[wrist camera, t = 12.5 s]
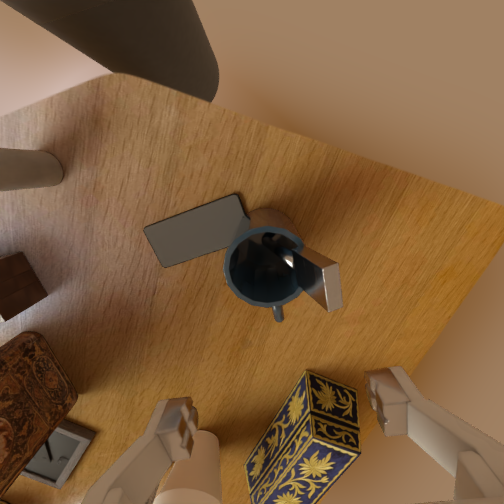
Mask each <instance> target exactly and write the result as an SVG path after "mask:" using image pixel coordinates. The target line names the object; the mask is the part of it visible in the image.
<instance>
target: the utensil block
mask: <svg viewBox="0 0 504 504" xmlns="http://www.w3.org/2000/svg"><path fill="white" fill-rule="evenodd" d="M47 296H48V295H47V293H46V291H45V290H44V288H43V286H42V285H41V283H40V281H39V279H38V278H37V276H36V274H35V273H34V271H33V269H32V267H31V266H30V264H29V262H28V261H27V259H26V257H25V255H24V254H23V252H17V253H13V254H8V255H4V256H0V323H2V322H6V321H7V320H9V319H11V318H12V317H14V316H16V315H17V314H19V313H21V312H22V311H24V310H26V309H27V308H29V307H31V306H32V305H34V304H35V303H37V302H39V301H40V300H42V299H44V298H45V297H47Z"/></svg>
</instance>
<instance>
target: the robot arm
mask: <svg viewBox="0 0 504 504" xmlns="http://www.w3.org/2000/svg"><path fill="white" fill-rule="evenodd" d="M364 377H365V379H366V381H367V383H366V385H365V387H366V393H367V397H368V400H369V402H370V405H371V407H372V409H373V410H374V411H376V412H377V420H378V422H379V424H380V426H381V428H382V430H383V432H384V434H385V436H396V435H408V436H409V437H410V438H411V439H412V440H413V441H414V442H415V443H416V444H418V445H419V446H420V447H421V448H422V449H423V450H425V452H427V453H428V454H429V455H430V456H431V457H432V458H433V459H434V460H436V461H437V462H438V463H439V464H440V465H441V466H442V467H443V468H445V469H446V470H447V471H448V472H449V473H450V474H451V475H452V476H454V477H455V478H456V481H455V490H454V500H452V501H440V502H428V503H418V504H504V445H503V444H501V443H500V442H498V441H496V440H495V439H493V438H492V437H490V436H488V435H487V434H485V433H483V432H482V431H480V430H479V429H477V428H475V427H474V426H472V425H470V424H469V423H467V422H465V421H464V420H462V419H461V418H459V417H457V416H455V415H454V414H452V413H451V412H449V411H447V410H446V409H444V408H442V407H441V406H439V405H438V404H436V403H434V402H433V401H431V400H430V399H428V400H425V399H424V397H423V396H422V394H421V393H420V391H419V390H418V389H417V387H416V386H415V384H414V383H413V382H412V380H411V379H410V378H409V376H408V375H407V373H406V372H405V371H404V369H403V368H402V367H401V366H395V367H388V368H381V369H374V370H368V371H365V372H364ZM192 404H193V400H192V398H191V397H182V398H173V399H165V400H160V401H159V402H158V403H157V405H156V407H155V409H154V412H153V414H152V416H151V419H150V421H149V423H148V425H147V428H146V430H145V432H144V435H143V436H140V437H139V438H138V439H137V440H136V441H135V442H134V443H133V444H132V445H131V446H130V447H129V448H128V449H127V450H126V451H125V452H124V453H123V454H122V456H121V457H120V458H119V459H118V460H117V461H116V462H115V463H114V464H113V465H112V466H111V467H110V468H109V469H108V470H107V471H106V472H105V473H104V474H103V475H102V476H101V477H100V478H99V479H98V480H97V481H96V482H95V483H94V485H93V486H92V487H91V488H90V489H89V490H88V492H87V494H86V495H85V497H84V499H83V501H82V503H81V504H145V502H146V501H147V499H148V498H149V497H150V495H151V494H152V492H153V491H154V489H155V488H156V486H157V485H158V483H159V482H160V480H161V479H162V477H163V476H164V474H165V473H166V471H167V470H168V468H169V467H170V465H171V464H172V461H179V460H185V459H190V457H191V453H192V449H193V445H194V440H193V438H192V437H193V435H194V434H195V433H196V432H197V428H198V412H197V409H196V408H195V407H193V406H192Z"/></svg>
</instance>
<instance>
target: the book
mask: <svg viewBox="0 0 504 504" xmlns="http://www.w3.org/2000/svg"><path fill="white" fill-rule="evenodd" d="M77 399H78V394H77V393H76V391H75V389H74V387H73V385H72V383H71V382H70V380H69V378H68V377H67V375H66V373H65V372H64V370H63V369H62V367H61V365H60V364H59V362H58V360H57V359H56V357H55V356H54V354H53V352H52V351H51V349H50V347H49V346H48V344H47V343H46V341H45V339H44V338H43V336H42V335H41V334H39V333H36V332H23V333H20V334H19V335H17V336H16V337H14V338H13V339H11V340H10V341H8V342H7V343H6V344H4V345H3V346H1V347H0V499H1V498H2V496H3V495H4V494H5V493H6V491H7V490H8V489H9V487H10V486H11V485H12V484H13V482H14V481H15V480H16V479H17V477H18V476H19V475H20V473H21V472H22V471H23V470H24V468H25V467H26V466H27V465H28V463H29V462H30V461H31V460H32V458H33V457H34V456H35V454H36V453H37V452H38V451H39V449H40V448H41V447H42V446H43V444H44V443H45V442H46V440H47V439H48V438H49V437H50V435H51V434H52V433H53V432H54V430H55V429H56V428H57V427H58V425H59V424H60V423H61V421H62V420H63V419H64V418H65V416H66V415H67V414H68V413H69V411H70V410H71V409H72V407H73V406H74V404H75V403H76V401H77Z"/></svg>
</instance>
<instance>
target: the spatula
mask: <svg viewBox="0 0 504 504" xmlns="http://www.w3.org/2000/svg"><path fill="white" fill-rule="evenodd" d="M262 244H263V245H264V246H265V247H266V248H267V249H269V250H270V251H271V252H273V253H274V254H275V255H276V256H278V257H279V258H280V259H282V260H283V261H284V262H285V263H287V264H288V265H289V266H291V267H292V268H293V269H294V270H295V273H296V278H297V284H298V286H299V287H301V288H302V289H303V290H304V291H305V292H306V293H307V294H308V295H310V296H311V297H312V298H313V299H314V300H315V301H316V302H317V303H318V304H320V305H321V306H322V307H323V308H324V309H325V310H326V311H327V312H331V311H334V310H337V309H339V308H342V307H343V300H342V291H341V282H340V273H339V264H338V263H337V262H335V261H333V260H331V259H329V258H327V257H325V256H324V255H322V254H320V253H318V252H316V251H314V250H312V249H310V248H308V247H306V246H304V245H303V246H300V247H297V248H294V249H292V251H290V250H288V249H287V248H285V247H284V246H282V245H281V244H279V243H277V242H276V241H274V240H273V239H271V238H270V237H263V239H262Z"/></svg>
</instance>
